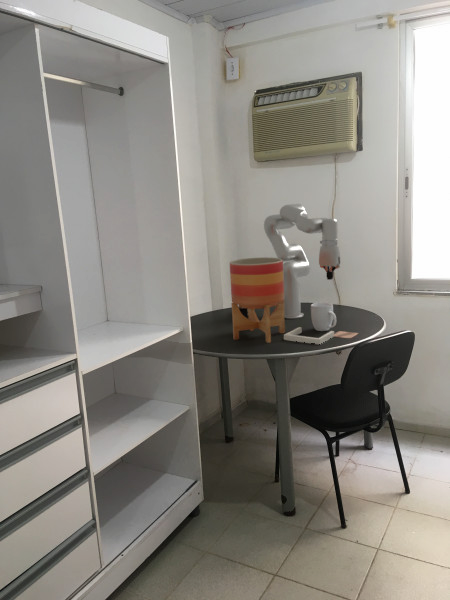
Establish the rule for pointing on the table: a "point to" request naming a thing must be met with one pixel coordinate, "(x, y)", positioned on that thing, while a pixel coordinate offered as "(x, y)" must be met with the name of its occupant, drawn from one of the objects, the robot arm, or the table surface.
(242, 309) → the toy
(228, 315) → the table surface
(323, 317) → the mug
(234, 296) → the planter
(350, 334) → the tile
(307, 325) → the table surface
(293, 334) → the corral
